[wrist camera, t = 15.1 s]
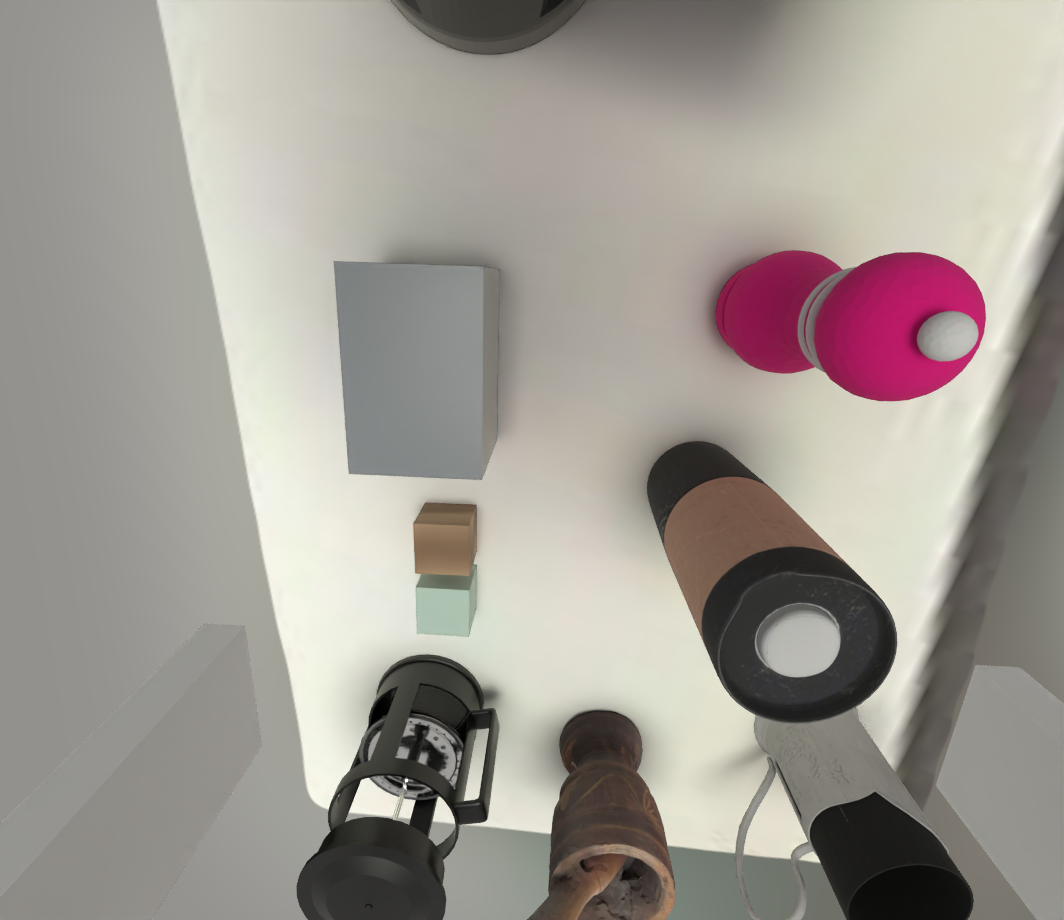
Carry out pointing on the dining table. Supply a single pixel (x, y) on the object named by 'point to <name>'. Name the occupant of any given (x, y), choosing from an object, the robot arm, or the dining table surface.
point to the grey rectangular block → (419, 367)
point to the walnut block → (445, 539)
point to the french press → (407, 772)
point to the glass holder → (856, 825)
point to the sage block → (446, 604)
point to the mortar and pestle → (606, 830)
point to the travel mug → (767, 591)
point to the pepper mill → (856, 320)
